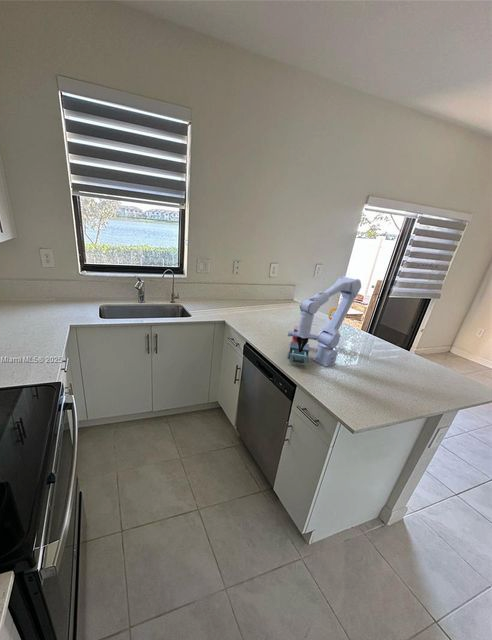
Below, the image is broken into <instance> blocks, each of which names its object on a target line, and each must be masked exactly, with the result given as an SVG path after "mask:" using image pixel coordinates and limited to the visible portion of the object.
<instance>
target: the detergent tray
mask: <svg viewBox="0 0 492 640" xmlns="http://www.w3.org/2000/svg"><path fill="white" fill-rule="evenodd" d="M307 357H309V355H308V356H306V351H302V353H300V352H299V350H295V349H293V350H292V353H291V354H290V359H288V363H290V364H291V363H292V364H296V365H303V366H306V365H307V363H308V358H307Z"/></svg>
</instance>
